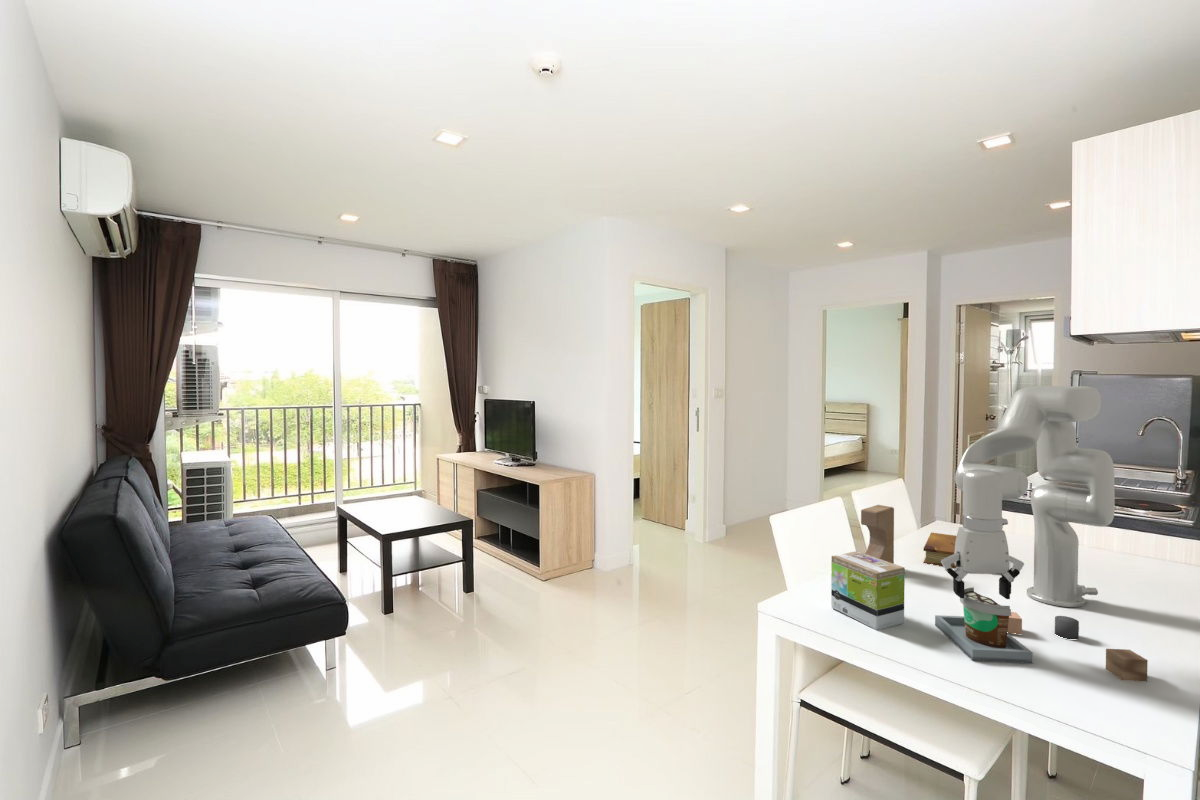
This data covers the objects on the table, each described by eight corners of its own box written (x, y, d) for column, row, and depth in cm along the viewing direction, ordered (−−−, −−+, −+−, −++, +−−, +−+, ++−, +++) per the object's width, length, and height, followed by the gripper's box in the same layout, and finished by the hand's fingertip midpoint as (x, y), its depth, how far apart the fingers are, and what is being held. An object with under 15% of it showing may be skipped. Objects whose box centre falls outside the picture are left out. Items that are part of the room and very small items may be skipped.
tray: (986, 627, 140) (987, 617, 140) (1032, 663, 123) (1032, 652, 122) (935, 625, 142) (935, 615, 142) (972, 660, 124) (972, 649, 124)
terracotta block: (1016, 628, 140) (1016, 612, 140) (1021, 635, 136) (1022, 619, 136) (992, 625, 142) (992, 609, 142) (997, 632, 138) (997, 616, 138)
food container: (947, 627, 139) (947, 587, 138) (971, 626, 139) (971, 586, 139) (984, 652, 126) (985, 607, 126) (1011, 651, 127) (1011, 606, 126)
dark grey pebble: (1070, 632, 137) (1070, 616, 137) (1083, 640, 133) (1083, 623, 133) (1050, 631, 138) (1050, 615, 138) (1062, 639, 133) (1062, 623, 133)
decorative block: (877, 576, 177) (877, 512, 176) (859, 571, 182) (859, 509, 181) (894, 568, 184) (895, 507, 183) (877, 564, 188) (877, 504, 187)
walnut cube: (1129, 670, 119) (1129, 649, 119) (1147, 681, 115) (1147, 660, 115) (1105, 669, 120) (1106, 648, 120) (1122, 680, 116) (1123, 659, 115)
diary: (991, 576, 178) (992, 558, 177) (923, 565, 189) (923, 548, 188) (993, 556, 196) (993, 539, 196) (931, 547, 207) (931, 531, 207)
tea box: (829, 608, 153) (829, 554, 152) (857, 602, 157) (857, 549, 156) (876, 631, 139) (877, 571, 138) (905, 624, 143) (906, 565, 142)
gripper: (1013, 519, 134) (1012, 591, 135) (934, 519, 136) (934, 589, 137) (1033, 528, 126) (1032, 604, 127) (949, 528, 129) (949, 602, 130)
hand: (981, 596), depth 132 cm, fingers open, 9 cm apart
